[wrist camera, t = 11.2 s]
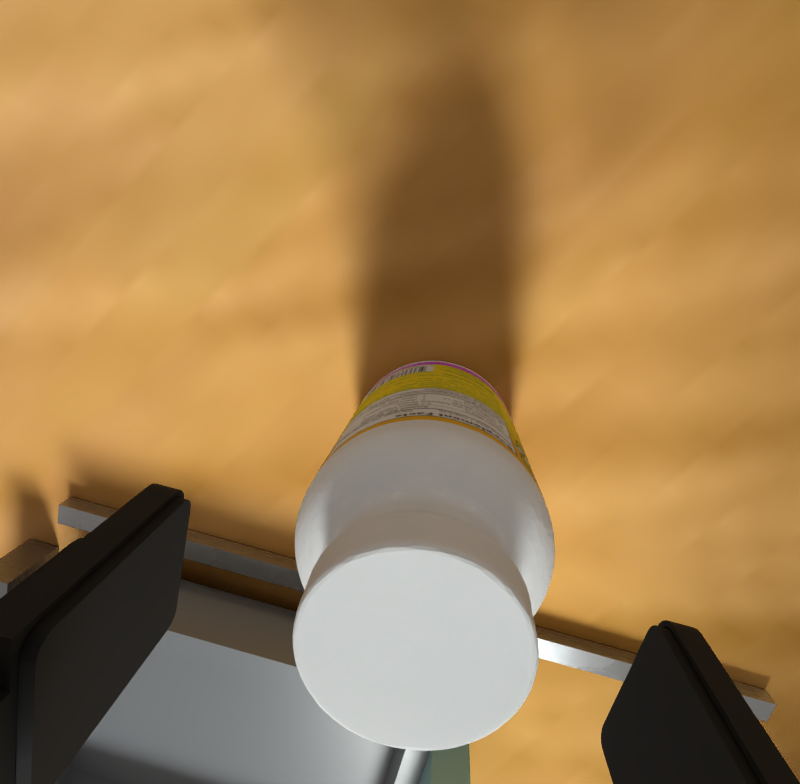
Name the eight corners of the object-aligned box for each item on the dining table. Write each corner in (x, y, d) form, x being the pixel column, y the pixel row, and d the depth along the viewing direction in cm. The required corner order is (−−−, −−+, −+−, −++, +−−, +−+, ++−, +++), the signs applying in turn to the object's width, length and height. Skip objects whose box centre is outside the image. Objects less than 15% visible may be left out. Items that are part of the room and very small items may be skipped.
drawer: (478, 650, 24) (486, 768, 19) (407, 851, 28) (396, 999, 22) (90, 541, 25) (-16, 623, 19) (72, 752, 29) (-21, 872, 23)
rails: (765, 690, 23) (810, 750, 20) (625, 938, 28) (645, 1015, 25) (32, 486, 24) (-24, 516, 22) (19, 758, 29) (-28, 813, 26)
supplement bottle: (473, 523, 23) (500, 841, 10) (337, 468, 23) (199, 720, 10) (538, 391, 21) (665, 583, 9) (390, 331, 21) (301, 436, 8)
